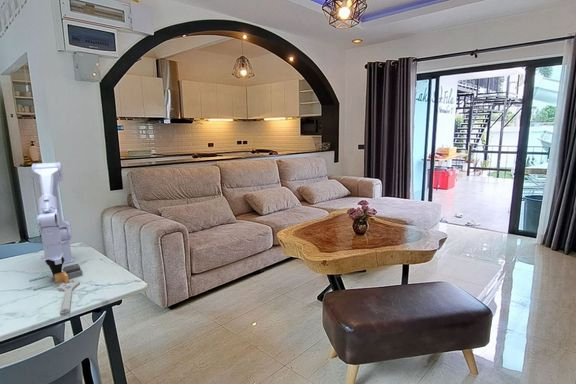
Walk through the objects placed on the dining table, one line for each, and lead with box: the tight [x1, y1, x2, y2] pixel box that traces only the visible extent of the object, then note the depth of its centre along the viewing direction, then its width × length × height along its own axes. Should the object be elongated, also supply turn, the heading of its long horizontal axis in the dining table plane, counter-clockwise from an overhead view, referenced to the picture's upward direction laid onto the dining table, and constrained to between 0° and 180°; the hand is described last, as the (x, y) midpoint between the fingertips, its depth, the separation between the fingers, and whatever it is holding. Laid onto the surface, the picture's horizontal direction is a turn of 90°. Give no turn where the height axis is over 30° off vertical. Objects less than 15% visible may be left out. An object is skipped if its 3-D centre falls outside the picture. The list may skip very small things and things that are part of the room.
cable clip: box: [62, 267, 83, 280], centre depth 134 cm, size 8×5×2 cm, turn 44°
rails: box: [28, 274, 54, 292], centre depth 127 cm, size 11×6×1 cm, turn 44°
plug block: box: [63, 263, 82, 274], centre depth 134 cm, size 5×5×4 cm
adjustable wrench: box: [57, 279, 81, 316], centre depth 116 cm, size 25×6×2 cm, turn 24°
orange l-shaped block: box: [53, 271, 70, 284], centre depth 127 cm, size 5×4×3 cm
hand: (57, 276), depth 130 cm, fingers closed
